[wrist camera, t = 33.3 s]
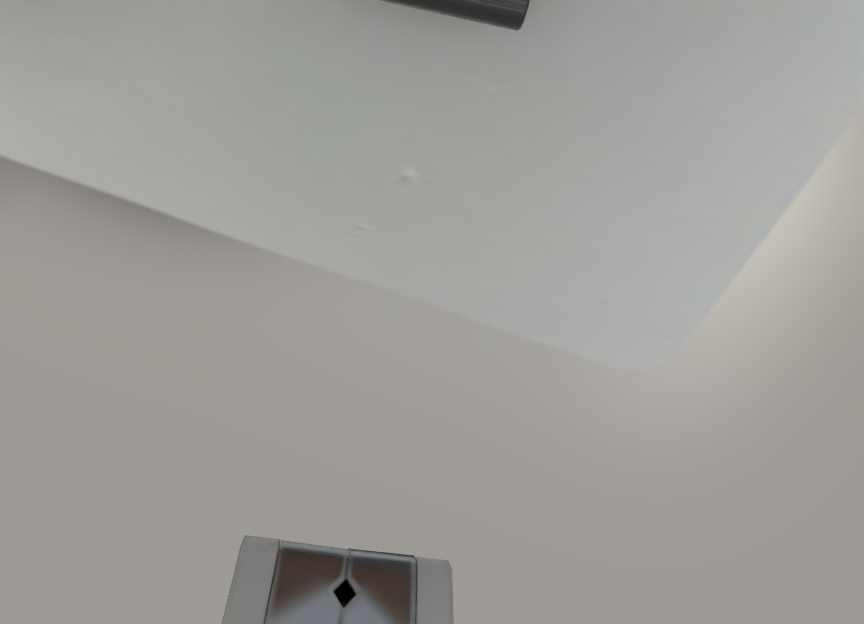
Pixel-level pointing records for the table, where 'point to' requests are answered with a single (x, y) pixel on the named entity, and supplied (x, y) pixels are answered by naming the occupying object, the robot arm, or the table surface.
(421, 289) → the table surface
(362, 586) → the robot arm
